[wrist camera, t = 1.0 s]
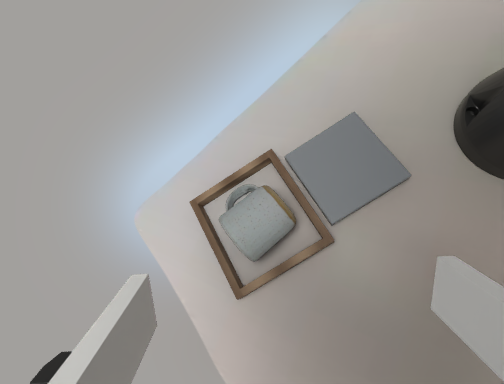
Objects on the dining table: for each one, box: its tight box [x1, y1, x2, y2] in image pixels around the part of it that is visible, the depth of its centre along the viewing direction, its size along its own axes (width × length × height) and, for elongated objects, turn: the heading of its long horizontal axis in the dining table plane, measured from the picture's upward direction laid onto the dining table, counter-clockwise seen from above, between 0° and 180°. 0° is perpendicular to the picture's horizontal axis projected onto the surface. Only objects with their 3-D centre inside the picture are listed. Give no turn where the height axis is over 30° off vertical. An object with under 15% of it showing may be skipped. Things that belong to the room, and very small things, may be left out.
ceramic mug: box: [219, 184, 296, 262], centre depth 36 cm, size 11×8×8 cm
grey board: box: [285, 112, 411, 226], centre depth 38 cm, size 12×12×2 cm
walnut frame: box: [190, 149, 334, 300], centre depth 38 cm, size 15×16×2 cm
